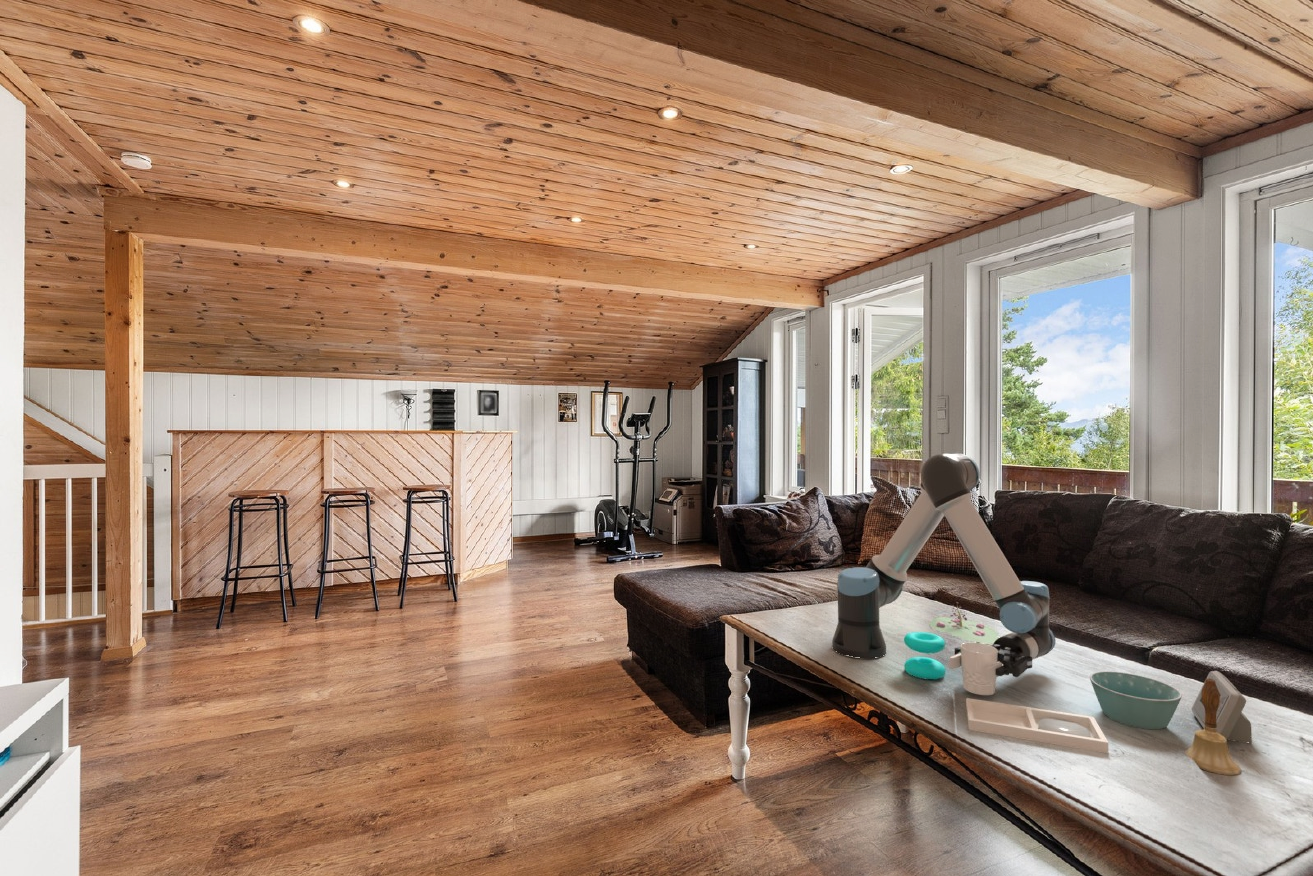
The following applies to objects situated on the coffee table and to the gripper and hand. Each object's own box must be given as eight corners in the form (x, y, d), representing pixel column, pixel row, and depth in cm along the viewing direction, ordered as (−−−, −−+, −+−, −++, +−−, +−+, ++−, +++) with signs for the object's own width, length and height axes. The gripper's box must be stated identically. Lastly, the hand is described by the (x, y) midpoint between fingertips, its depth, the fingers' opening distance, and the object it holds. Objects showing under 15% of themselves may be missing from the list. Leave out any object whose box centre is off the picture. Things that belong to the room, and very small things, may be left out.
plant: (1026, 642, 186) (1026, 613, 186) (969, 648, 181) (968, 618, 181) (967, 620, 210) (967, 594, 210) (915, 624, 205) (915, 597, 205)
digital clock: (1191, 712, 136) (1190, 665, 136) (1247, 724, 130) (1246, 674, 130) (1191, 739, 124) (1190, 687, 124) (1253, 753, 118) (1252, 699, 118)
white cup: (988, 683, 148) (988, 642, 148) (1004, 697, 140) (1004, 654, 140) (955, 682, 148) (955, 641, 148) (968, 696, 140) (968, 653, 140)
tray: (968, 734, 127) (968, 719, 127) (966, 711, 138) (966, 698, 138) (1108, 758, 117) (1108, 742, 117) (1093, 731, 127) (1093, 717, 127)
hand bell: (1247, 766, 113) (1245, 681, 113) (1233, 780, 109) (1231, 691, 109) (1190, 748, 120) (1188, 667, 120) (1174, 760, 116) (1173, 676, 116)
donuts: (941, 644, 153) (899, 637, 159) (941, 684, 153) (900, 676, 159) (948, 634, 161) (908, 628, 167) (948, 672, 161) (909, 664, 167)
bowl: (1167, 714, 135) (1167, 677, 135) (1195, 746, 121) (1194, 704, 121) (1083, 702, 142) (1082, 667, 142) (1099, 731, 128) (1099, 692, 128)
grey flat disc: (1045, 739, 122) (1045, 735, 122) (1033, 720, 130) (1033, 715, 130) (1098, 747, 119) (1098, 742, 119) (1081, 726, 128) (1081, 721, 128)
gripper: (1059, 677, 146) (1014, 700, 133) (974, 652, 163) (927, 671, 150) (1059, 646, 146) (1014, 666, 133) (974, 624, 163) (927, 640, 150)
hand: (968, 668), depth 141 cm, fingers closed on white cup, 8 cm apart
